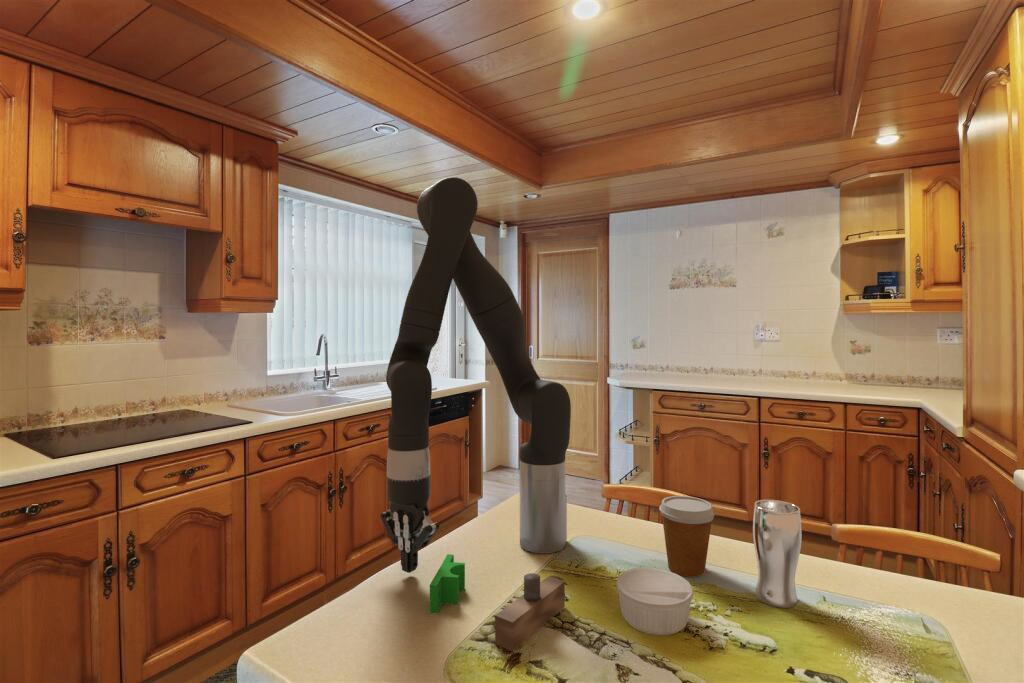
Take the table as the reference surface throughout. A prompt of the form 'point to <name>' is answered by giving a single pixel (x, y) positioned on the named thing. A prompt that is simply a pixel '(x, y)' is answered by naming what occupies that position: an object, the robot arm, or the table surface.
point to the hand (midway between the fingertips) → (409, 570)
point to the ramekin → (654, 600)
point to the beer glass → (777, 551)
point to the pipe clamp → (447, 584)
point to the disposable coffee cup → (686, 533)
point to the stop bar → (529, 611)
